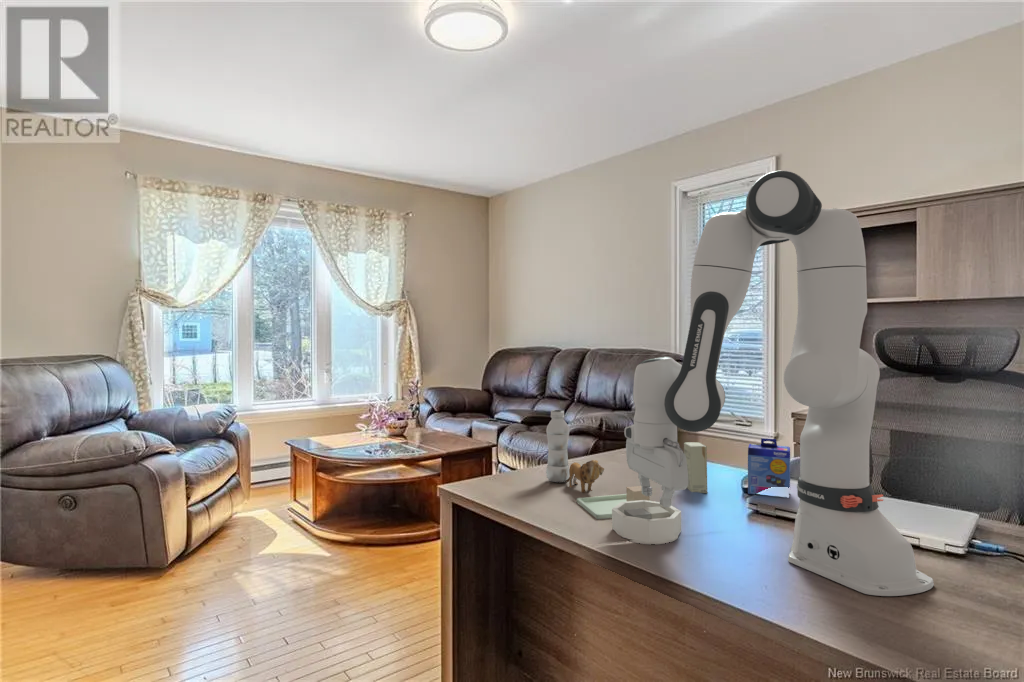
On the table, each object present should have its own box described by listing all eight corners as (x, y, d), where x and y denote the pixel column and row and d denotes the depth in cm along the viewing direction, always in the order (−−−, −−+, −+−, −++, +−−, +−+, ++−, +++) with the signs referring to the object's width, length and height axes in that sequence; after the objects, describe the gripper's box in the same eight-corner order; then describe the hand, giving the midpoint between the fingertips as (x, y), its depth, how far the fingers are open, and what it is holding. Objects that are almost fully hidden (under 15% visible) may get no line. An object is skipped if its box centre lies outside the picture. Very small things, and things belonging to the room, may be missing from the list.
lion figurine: (607, 495, 145) (607, 460, 145) (591, 498, 143) (591, 463, 142) (571, 482, 158) (571, 450, 158) (556, 485, 155) (556, 452, 155)
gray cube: (650, 533, 116) (650, 513, 116) (633, 535, 115) (632, 515, 115) (641, 526, 120) (641, 508, 120) (624, 528, 119) (624, 509, 119)
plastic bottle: (553, 477, 163) (553, 408, 163) (574, 481, 159) (573, 410, 159) (541, 482, 158) (540, 411, 158) (562, 486, 154) (561, 413, 154)
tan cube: (649, 507, 133) (649, 490, 133) (634, 508, 133) (633, 491, 132) (641, 502, 137) (641, 485, 137) (626, 503, 136) (626, 487, 136)
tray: (663, 514, 129) (663, 508, 129) (597, 521, 125) (597, 515, 125) (637, 498, 142) (637, 492, 142) (576, 503, 138) (576, 498, 138)
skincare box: (708, 493, 145) (707, 446, 145) (691, 493, 145) (690, 446, 145) (700, 486, 152) (699, 441, 152) (683, 487, 152) (683, 441, 152)
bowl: (691, 540, 113) (691, 516, 113) (631, 547, 110) (631, 523, 110) (659, 519, 126) (659, 498, 126) (604, 525, 123) (604, 503, 123)
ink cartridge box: (747, 494, 144) (747, 438, 144) (748, 489, 149) (748, 434, 149) (790, 499, 140) (790, 440, 140) (790, 493, 145) (790, 437, 145)
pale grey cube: (669, 531, 117) (668, 511, 117) (651, 533, 116) (651, 513, 116) (659, 524, 121) (659, 506, 121) (642, 526, 120) (642, 507, 120)
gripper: (696, 443, 109) (696, 514, 109) (646, 426, 129) (647, 486, 129) (666, 445, 107) (667, 517, 108) (620, 427, 127) (621, 488, 127)
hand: (655, 500), depth 118 cm, fingers open, 7 cm apart
